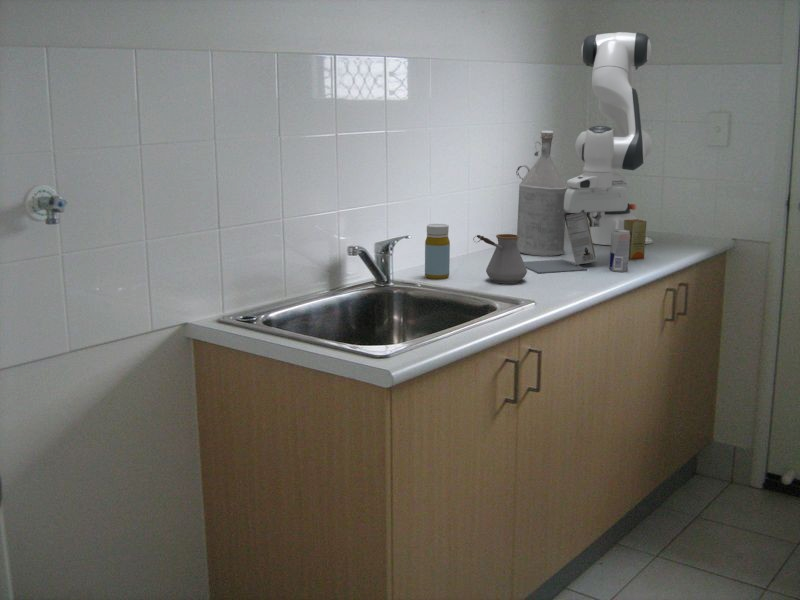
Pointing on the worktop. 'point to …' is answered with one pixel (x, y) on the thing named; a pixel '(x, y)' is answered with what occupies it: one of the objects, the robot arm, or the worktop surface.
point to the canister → (541, 205)
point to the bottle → (437, 251)
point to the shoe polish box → (636, 238)
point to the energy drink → (619, 250)
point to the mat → (552, 266)
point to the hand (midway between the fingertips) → (594, 226)
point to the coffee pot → (505, 260)
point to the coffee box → (580, 237)
